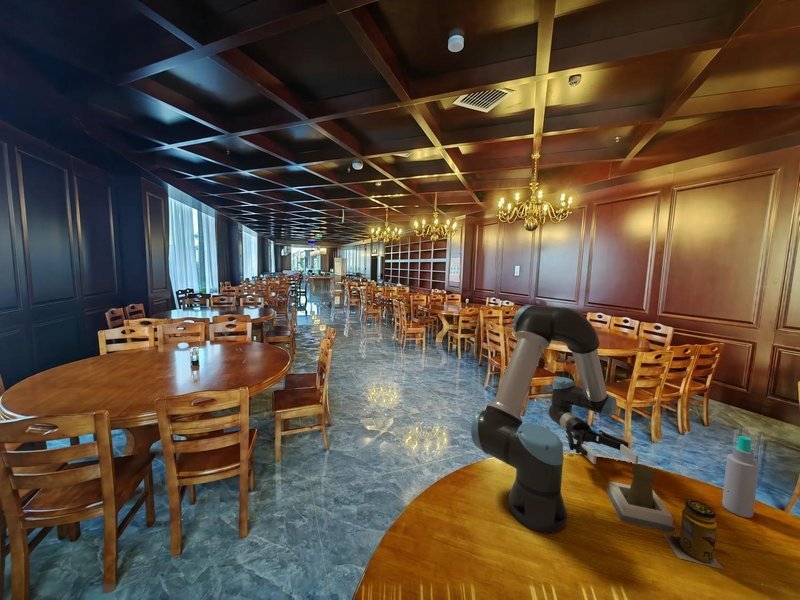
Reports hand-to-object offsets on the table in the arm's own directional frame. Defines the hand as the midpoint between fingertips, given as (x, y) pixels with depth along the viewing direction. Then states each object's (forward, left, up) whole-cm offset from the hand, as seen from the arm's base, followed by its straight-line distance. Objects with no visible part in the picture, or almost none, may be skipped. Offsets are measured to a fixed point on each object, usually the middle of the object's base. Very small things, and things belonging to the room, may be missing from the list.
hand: (616, 459), depth 96 cm
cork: (+4, -8, -8) cm, 12 cm away
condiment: (+10, -20, -10) cm, 24 cm away
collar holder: (+3, -9, -10) cm, 13 cm away
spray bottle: (+31, +1, -10) cm, 33 cm away
